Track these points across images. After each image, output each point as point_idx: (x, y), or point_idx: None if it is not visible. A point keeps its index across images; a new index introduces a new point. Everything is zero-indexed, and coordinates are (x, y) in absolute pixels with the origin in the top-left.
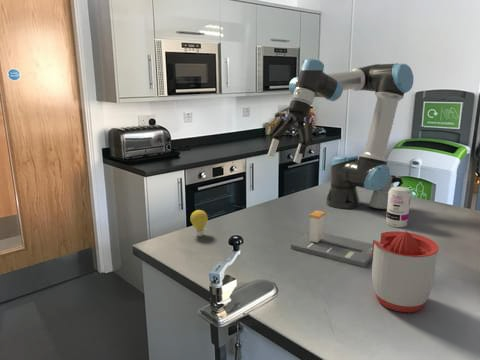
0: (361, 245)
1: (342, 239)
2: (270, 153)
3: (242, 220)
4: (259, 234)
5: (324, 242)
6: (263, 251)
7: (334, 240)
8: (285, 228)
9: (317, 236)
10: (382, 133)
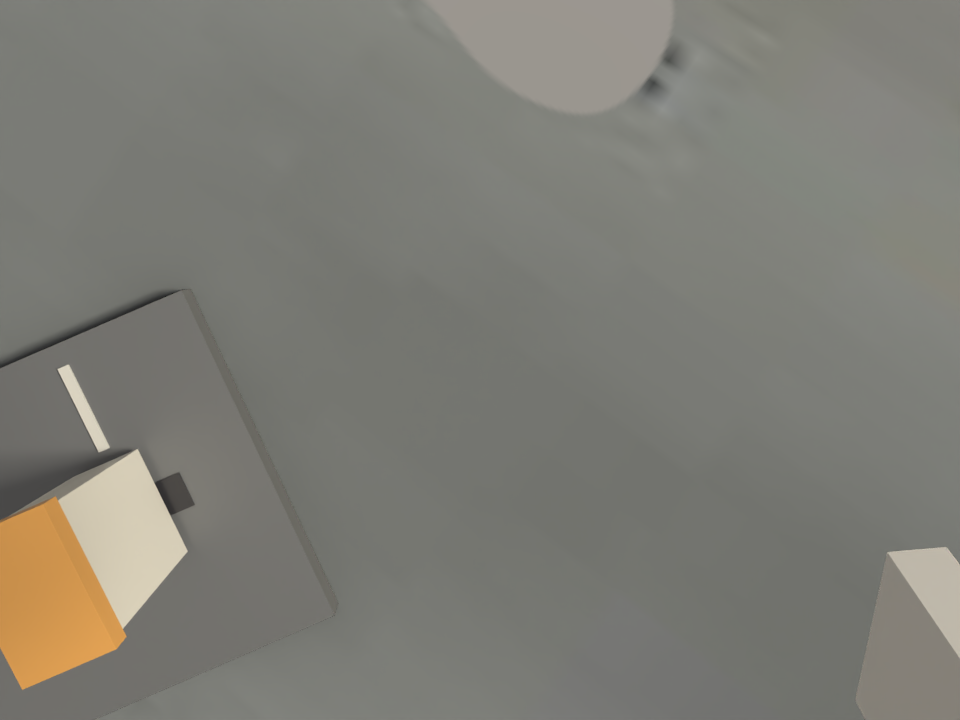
0: None
1: (42, 696)
2: (913, 632)
3: (914, 310)
4: (563, 250)
5: None
6: (263, 75)
7: None
8: (545, 509)
9: (52, 489)
10: None
